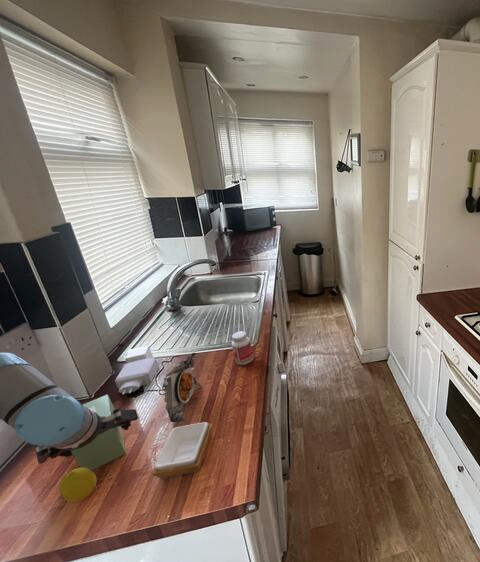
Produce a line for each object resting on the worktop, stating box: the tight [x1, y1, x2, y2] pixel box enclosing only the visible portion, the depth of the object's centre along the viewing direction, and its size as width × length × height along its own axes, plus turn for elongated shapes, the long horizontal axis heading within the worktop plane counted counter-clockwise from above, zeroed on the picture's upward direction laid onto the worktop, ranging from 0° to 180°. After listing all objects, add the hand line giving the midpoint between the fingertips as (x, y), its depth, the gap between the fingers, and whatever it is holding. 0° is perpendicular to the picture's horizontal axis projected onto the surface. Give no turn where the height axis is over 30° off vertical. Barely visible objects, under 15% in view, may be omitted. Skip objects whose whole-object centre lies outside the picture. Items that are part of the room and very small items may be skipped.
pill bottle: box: [231, 330, 254, 366], centre depth 110 cm, size 6×6×11 cm
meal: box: [161, 352, 202, 424], centre depth 91 cm, size 15×4×13 cm, turn 9°
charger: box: [114, 357, 160, 396], centre depth 101 cm, size 5×9×15 cm
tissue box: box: [71, 394, 127, 471], centre depth 78 cm, size 8×14×10 cm, turn 42°
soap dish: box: [151, 421, 213, 479], centre depth 75 cm, size 12×10×5 cm
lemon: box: [59, 467, 98, 503], centre depth 66 cm, size 6×6×8 cm
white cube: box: [124, 345, 154, 364], centre depth 110 cm, size 6×6×6 cm
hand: (98, 437), depth 78 cm, fingers open, 10 cm apart
